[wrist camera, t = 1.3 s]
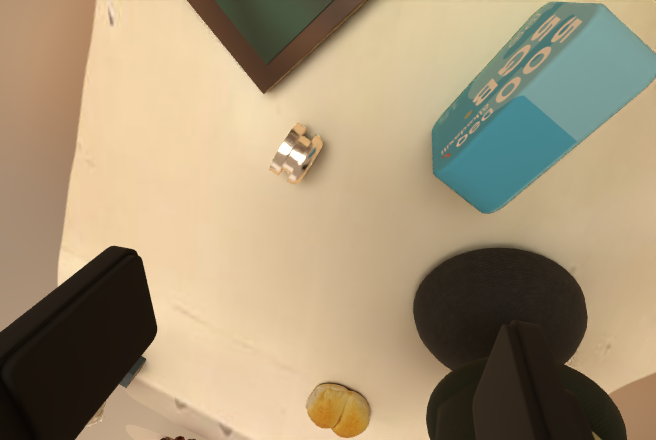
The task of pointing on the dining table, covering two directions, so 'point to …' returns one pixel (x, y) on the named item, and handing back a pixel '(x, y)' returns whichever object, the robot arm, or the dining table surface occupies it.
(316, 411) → the bread roll
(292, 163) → the metal grooved wheel
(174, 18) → the dining table surface
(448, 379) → the candelabra
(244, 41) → the desk pad
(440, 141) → the data package
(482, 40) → the dining table surface
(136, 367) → the watch
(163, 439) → the dragon fruit
